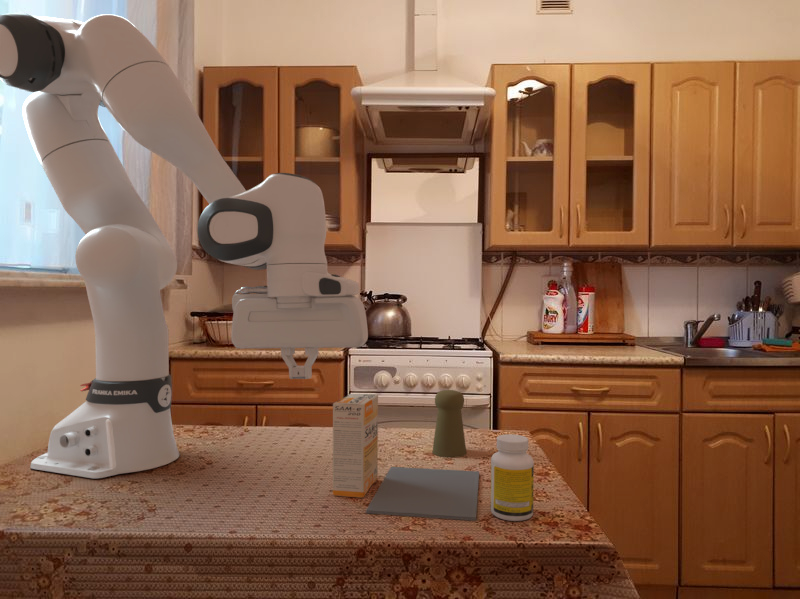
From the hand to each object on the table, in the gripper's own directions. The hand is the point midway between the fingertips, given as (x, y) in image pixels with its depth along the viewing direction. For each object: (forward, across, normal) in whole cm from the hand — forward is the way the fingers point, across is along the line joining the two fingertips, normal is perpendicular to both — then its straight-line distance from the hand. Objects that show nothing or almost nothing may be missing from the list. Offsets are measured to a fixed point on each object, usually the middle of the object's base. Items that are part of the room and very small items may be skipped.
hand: (300, 378), depth 82 cm
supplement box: (+16, +8, 0) cm, 18 cm away
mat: (+16, +19, 0) cm, 25 cm away
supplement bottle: (+17, +30, -6) cm, 35 cm away
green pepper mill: (+17, +20, +20) cm, 33 cm away
